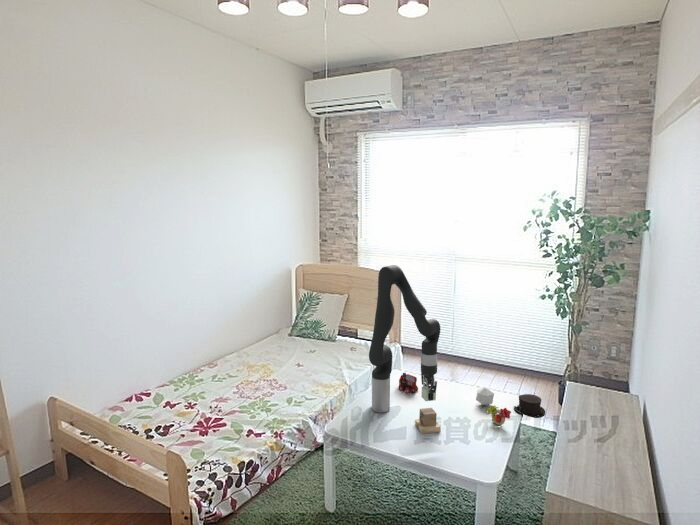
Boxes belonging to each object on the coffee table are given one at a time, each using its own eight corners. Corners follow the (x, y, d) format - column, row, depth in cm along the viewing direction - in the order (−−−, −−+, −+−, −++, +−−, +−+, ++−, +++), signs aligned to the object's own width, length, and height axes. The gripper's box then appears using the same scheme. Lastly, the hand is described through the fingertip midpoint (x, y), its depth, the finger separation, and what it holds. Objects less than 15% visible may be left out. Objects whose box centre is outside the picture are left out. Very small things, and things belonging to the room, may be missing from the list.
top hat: (529, 403, 241) (530, 384, 239) (552, 415, 227) (553, 395, 226) (507, 407, 235) (508, 388, 234) (528, 420, 221) (529, 400, 220)
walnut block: (419, 420, 215) (419, 408, 215) (431, 419, 217) (431, 407, 216) (424, 426, 210) (424, 414, 209) (436, 425, 211) (436, 413, 210)
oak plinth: (415, 424, 217) (415, 419, 217) (432, 422, 219) (433, 417, 219) (422, 433, 208) (422, 428, 208) (440, 431, 210) (440, 426, 210)
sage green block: (421, 396, 213) (421, 386, 213) (431, 395, 215) (431, 385, 214) (425, 401, 209) (425, 390, 208) (435, 400, 210) (435, 389, 209)
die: (496, 407, 235) (497, 389, 234) (482, 410, 232) (483, 391, 230) (486, 401, 243) (487, 383, 241) (472, 403, 239) (473, 385, 238)
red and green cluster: (491, 418, 223) (492, 400, 222) (513, 426, 215) (514, 407, 214) (485, 422, 219) (485, 404, 218) (506, 430, 211) (507, 412, 210)
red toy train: (404, 386, 262) (404, 369, 261) (420, 393, 253) (420, 375, 251) (395, 389, 258) (395, 372, 257) (411, 396, 248) (411, 378, 247)
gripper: (443, 367, 203) (442, 403, 205) (430, 356, 217) (430, 390, 219) (427, 368, 202) (426, 405, 204) (415, 357, 216) (415, 392, 218)
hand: (428, 397), depth 212 cm, fingers closed on sage green block, 5 cm apart
